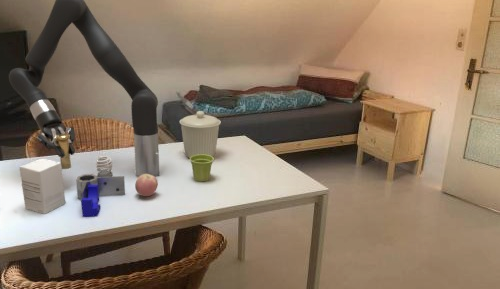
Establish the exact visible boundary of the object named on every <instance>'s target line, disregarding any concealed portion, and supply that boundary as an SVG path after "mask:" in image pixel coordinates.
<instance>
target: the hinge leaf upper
mask: <svg viewBox="0 0 500 289" xmlns="http://www.w3.org/2000/svg"><path fill="white" fill-rule="evenodd" d="M85 181H86V182H87V189H88V186H89V185H98V190H99V197H107V196H108V197H110V196H125V195H126V185H125V176H124V175H115V176H110V177H98V176H97V174H94V173H89V174H88V173H86V174H81V175H79V176H77V177H76V179H75V182H76V191H77V190H80V191H81V190H82V187H83V184H84V182H85Z"/></svg>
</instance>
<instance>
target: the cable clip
mask: <svg viewBox="0 0 500 289" xmlns="http://www.w3.org/2000/svg"><path fill="white" fill-rule="evenodd" d="M80 202H81V203H80V205H81V204H82V206H81V214H82V218H87V217H88V218H91V217H92V218H93V217H94V218H95V217H98V216H99V213H100V211H101V203H100V204H99V202H100V196H99V190H98V185H89V186H88V198H82V200H80Z"/></svg>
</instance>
